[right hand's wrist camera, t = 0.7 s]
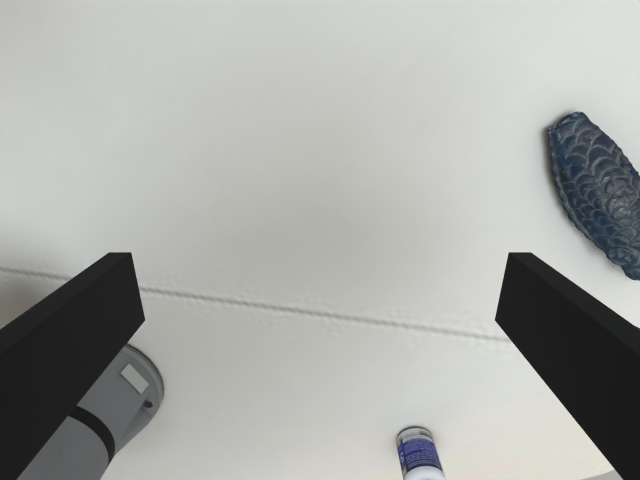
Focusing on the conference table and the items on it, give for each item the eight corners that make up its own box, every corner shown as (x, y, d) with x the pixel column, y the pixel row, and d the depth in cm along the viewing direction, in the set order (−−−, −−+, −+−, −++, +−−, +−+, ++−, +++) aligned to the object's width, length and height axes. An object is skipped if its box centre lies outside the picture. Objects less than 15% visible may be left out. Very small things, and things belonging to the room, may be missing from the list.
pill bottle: (390, 433, 50) (402, 498, 42) (425, 422, 50) (445, 486, 41) (403, 457, 52) (417, 525, 44) (438, 447, 51) (459, 513, 43)
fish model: (607, 289, 41) (643, 313, 37) (519, 144, 36) (548, 150, 31) (664, 256, 40) (710, 276, 35) (582, 99, 34) (622, 98, 30)
